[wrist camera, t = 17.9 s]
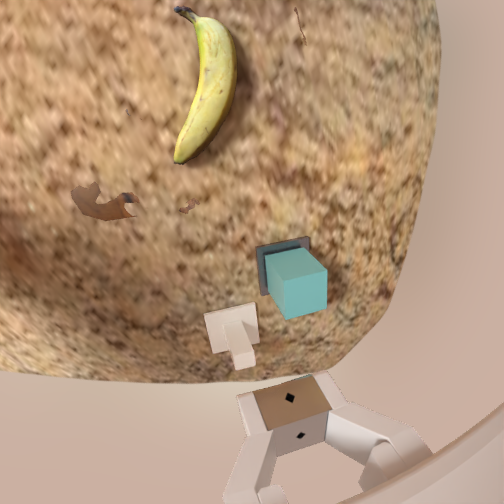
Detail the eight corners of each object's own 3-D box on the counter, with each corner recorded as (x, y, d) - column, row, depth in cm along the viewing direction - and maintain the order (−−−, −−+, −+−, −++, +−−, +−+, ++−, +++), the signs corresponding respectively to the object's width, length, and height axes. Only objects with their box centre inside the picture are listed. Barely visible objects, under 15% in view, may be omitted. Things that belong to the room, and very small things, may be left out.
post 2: (260, 294, 43) (277, 324, 37) (255, 246, 40) (273, 272, 34) (308, 282, 45) (331, 309, 39) (307, 235, 42) (332, 258, 36)
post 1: (212, 351, 45) (221, 385, 39) (203, 313, 42) (211, 347, 36) (258, 340, 47) (273, 372, 40) (254, 301, 44) (269, 332, 37)
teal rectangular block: (268, 291, 42) (285, 319, 36) (264, 255, 40) (283, 281, 34) (305, 282, 43) (326, 308, 37) (303, 247, 41) (327, 270, 35)
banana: (280, 240, 42) (291, 252, 38) (62, 223, 33) (53, 235, 30) (331, -14, 29) (346, -23, 26) (114, -55, 21) (111, -70, 17)
